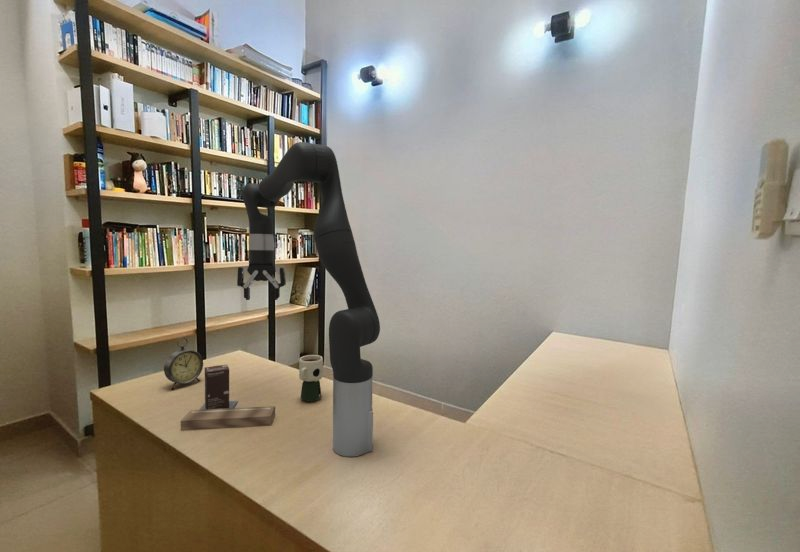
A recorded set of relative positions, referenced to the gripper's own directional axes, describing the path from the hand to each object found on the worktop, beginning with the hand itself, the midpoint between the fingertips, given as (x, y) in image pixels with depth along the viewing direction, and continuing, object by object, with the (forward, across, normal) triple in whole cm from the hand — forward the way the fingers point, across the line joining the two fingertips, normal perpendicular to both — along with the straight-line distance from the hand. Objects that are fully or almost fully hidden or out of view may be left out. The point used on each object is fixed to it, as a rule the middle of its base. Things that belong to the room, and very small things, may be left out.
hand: (262, 299), depth 114 cm
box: (+30, -10, -13) cm, 34 cm away
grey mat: (+30, -10, -12) cm, 34 cm away
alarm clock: (+30, -27, +8) cm, 41 cm away
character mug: (+30, +16, -8) cm, 35 cm away
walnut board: (+30, -4, -20) cm, 37 cm away
